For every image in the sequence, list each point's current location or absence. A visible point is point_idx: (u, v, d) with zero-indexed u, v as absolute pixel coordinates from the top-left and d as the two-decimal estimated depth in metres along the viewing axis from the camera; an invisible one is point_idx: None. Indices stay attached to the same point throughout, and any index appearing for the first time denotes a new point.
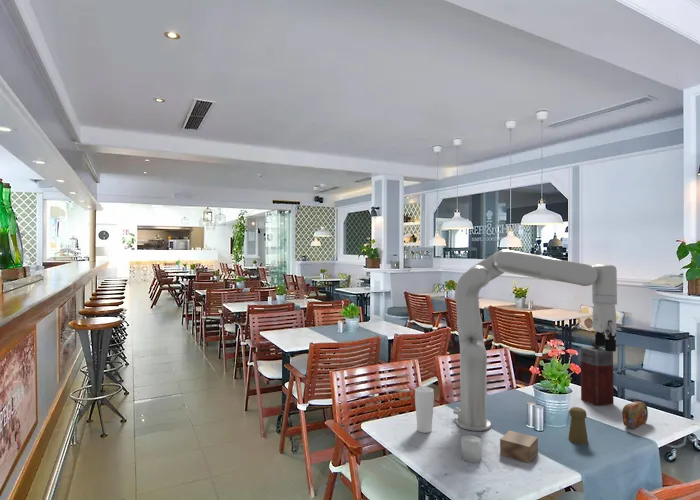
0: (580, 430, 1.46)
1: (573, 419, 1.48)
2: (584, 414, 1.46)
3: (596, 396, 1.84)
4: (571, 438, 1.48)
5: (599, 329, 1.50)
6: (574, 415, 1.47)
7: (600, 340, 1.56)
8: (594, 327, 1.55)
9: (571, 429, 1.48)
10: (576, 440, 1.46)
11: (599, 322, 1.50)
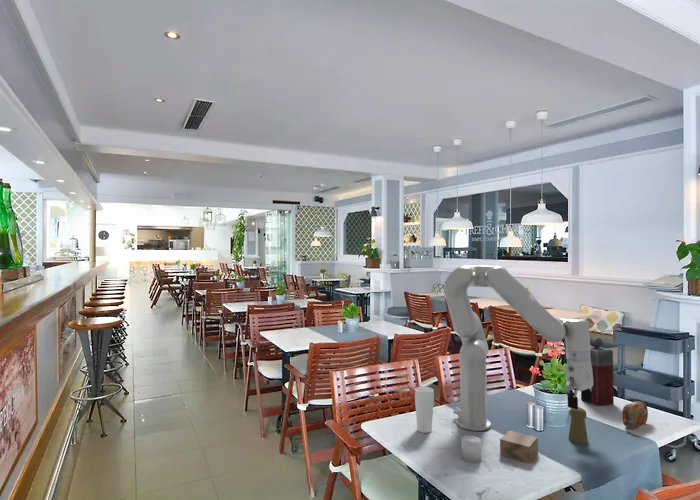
0: (580, 430, 1.46)
1: (573, 419, 1.48)
2: (584, 414, 1.46)
3: (596, 396, 1.84)
4: (571, 438, 1.48)
5: (591, 384, 1.48)
6: (574, 415, 1.47)
7: None
8: (585, 387, 1.45)
9: (571, 429, 1.48)
10: (576, 440, 1.46)
11: (591, 377, 1.48)
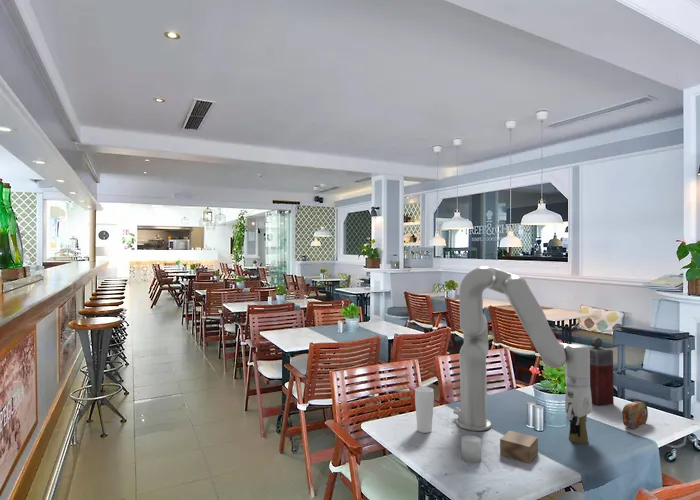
0: (580, 429, 1.46)
1: None
2: None
3: (596, 396, 1.84)
4: (572, 437, 1.48)
5: (590, 410, 1.48)
6: (574, 414, 1.47)
7: None
8: (583, 413, 1.45)
9: None
10: (576, 440, 1.46)
11: (590, 403, 1.48)
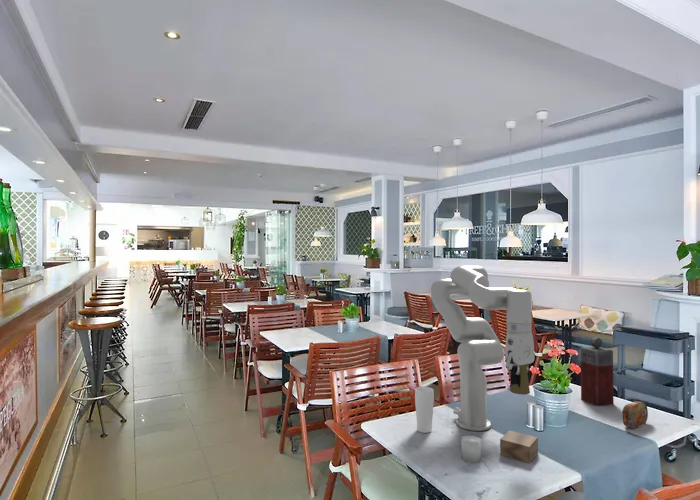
0: (521, 379, 1.36)
1: None
2: None
3: (596, 396, 1.84)
4: (512, 388, 1.38)
5: (532, 359, 1.38)
6: None
7: None
8: (523, 362, 1.35)
9: None
10: (517, 391, 1.36)
11: (532, 352, 1.39)
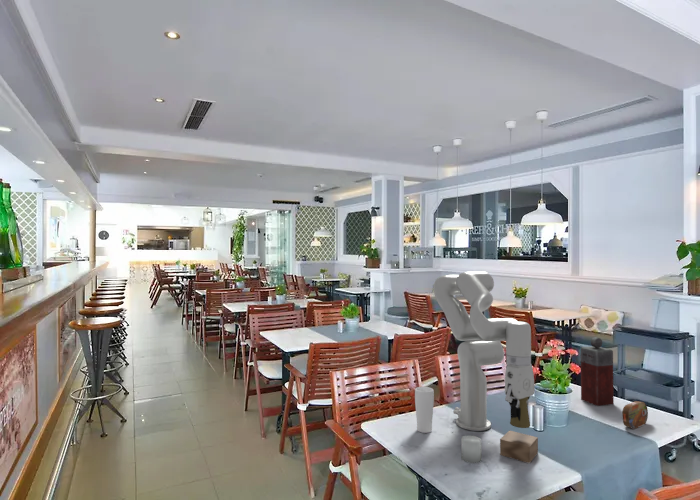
0: (521, 412, 1.36)
1: None
2: None
3: (596, 396, 1.84)
4: (512, 421, 1.37)
5: (532, 392, 1.38)
6: None
7: None
8: (523, 395, 1.35)
9: None
10: (517, 424, 1.36)
11: (532, 384, 1.38)
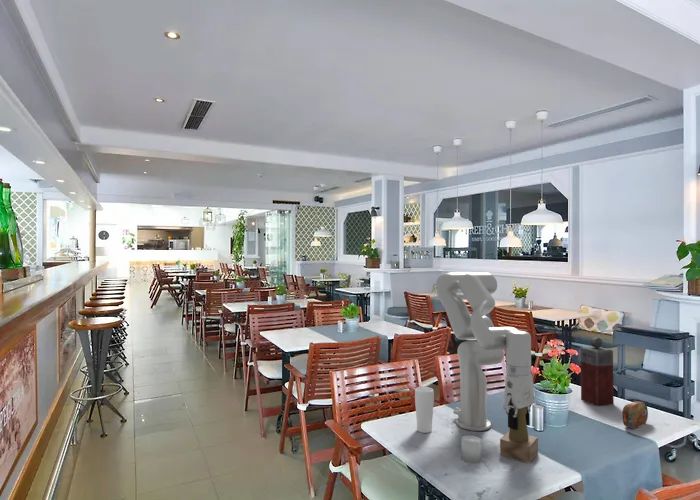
0: (519, 427, 1.36)
1: None
2: (524, 410, 1.36)
3: (596, 396, 1.84)
4: (511, 435, 1.37)
5: (532, 401, 1.38)
6: (513, 410, 1.37)
7: None
8: (523, 405, 1.35)
9: None
10: (515, 438, 1.36)
11: (532, 394, 1.38)
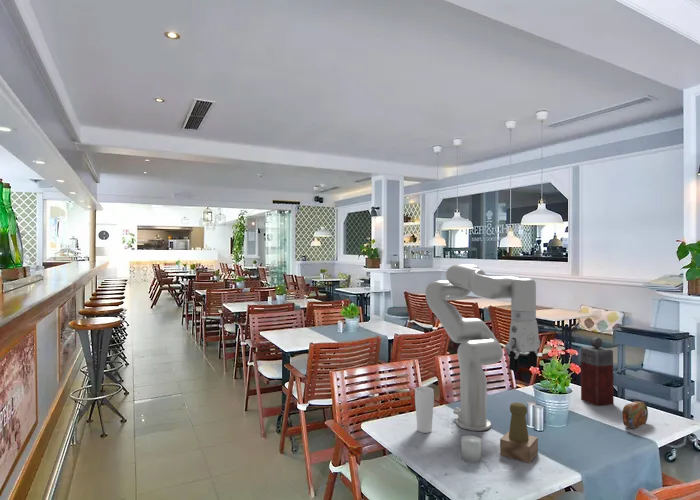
0: (519, 427, 1.36)
1: (513, 415, 1.38)
2: (524, 410, 1.36)
3: (596, 396, 1.84)
4: (511, 435, 1.37)
5: (536, 347, 1.40)
6: (513, 411, 1.37)
7: None
8: (527, 349, 1.38)
9: (511, 426, 1.38)
10: (515, 438, 1.36)
11: (536, 339, 1.41)
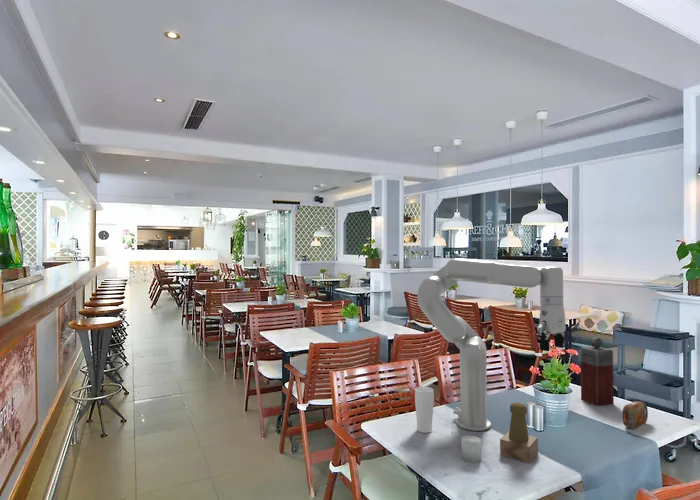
0: (519, 427, 1.36)
1: (513, 415, 1.38)
2: (524, 410, 1.36)
3: (596, 396, 1.84)
4: (511, 435, 1.37)
5: (564, 329, 1.54)
6: (513, 411, 1.37)
7: None
8: (556, 331, 1.51)
9: (511, 426, 1.38)
10: (515, 438, 1.36)
11: (563, 322, 1.54)
